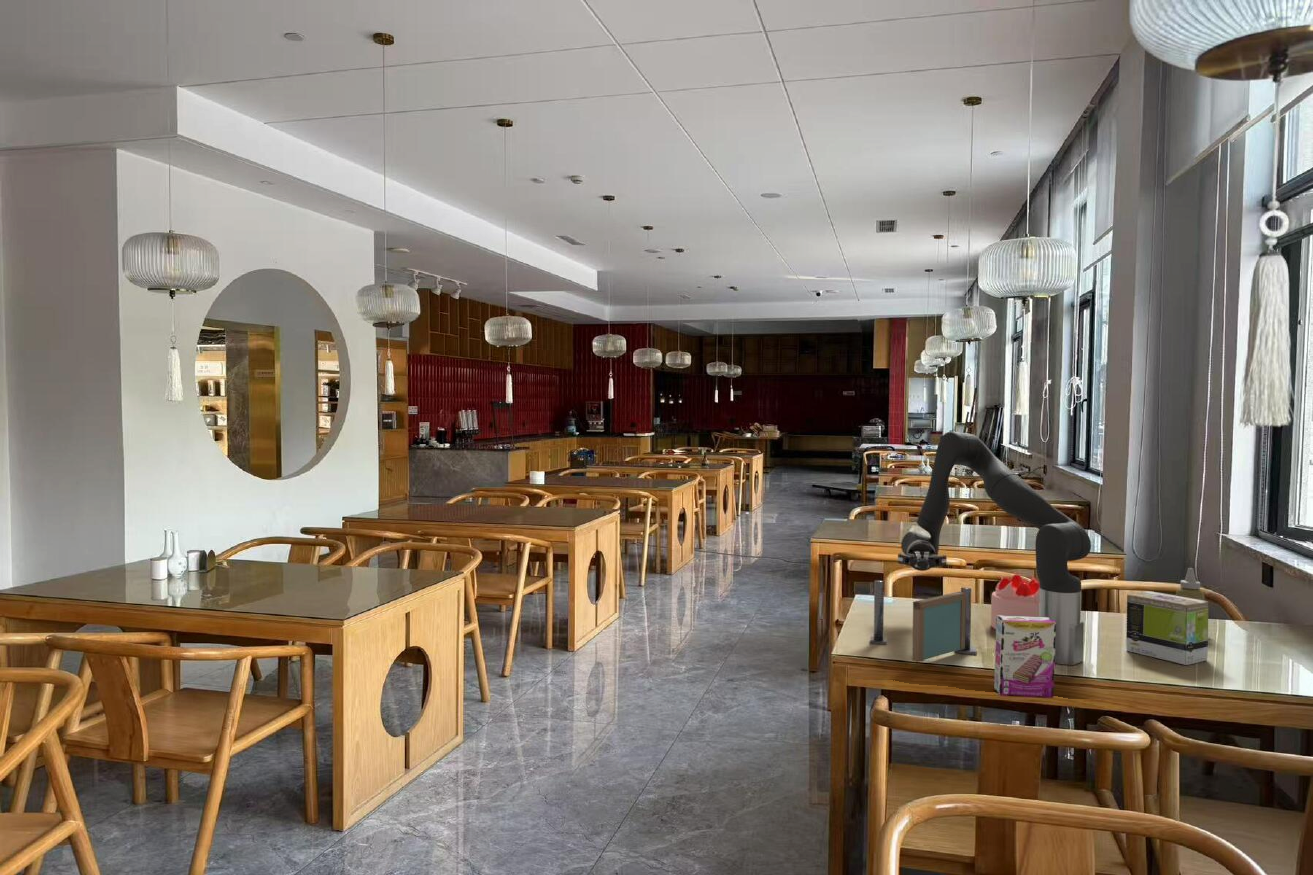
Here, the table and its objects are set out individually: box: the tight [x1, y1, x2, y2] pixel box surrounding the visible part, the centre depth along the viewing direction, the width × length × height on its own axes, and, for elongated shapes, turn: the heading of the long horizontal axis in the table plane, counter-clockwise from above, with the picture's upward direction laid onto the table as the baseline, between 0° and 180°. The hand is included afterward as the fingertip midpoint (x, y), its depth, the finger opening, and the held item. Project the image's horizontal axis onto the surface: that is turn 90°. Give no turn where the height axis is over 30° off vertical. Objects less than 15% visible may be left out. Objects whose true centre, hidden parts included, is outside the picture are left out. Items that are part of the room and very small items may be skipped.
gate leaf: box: [911, 591, 966, 663], centre depth 209 cm, size 19×2×14 cm, turn 128°
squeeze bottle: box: [1175, 567, 1206, 601], centre depth 234 cm, size 8×8×18 cm
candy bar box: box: [993, 615, 1056, 699], centre depth 183 cm, size 11×5×16 cm, turn 84°
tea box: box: [1125, 590, 1209, 666], centre depth 213 cm, size 15×10×15 cm, turn 30°
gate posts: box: [869, 579, 978, 656], centre depth 220 cm, size 26×7×16 cm, turn 74°
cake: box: [990, 574, 1039, 630], centre depth 238 cm, size 20×20×14 cm
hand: (922, 564), depth 219 cm, fingers closed
